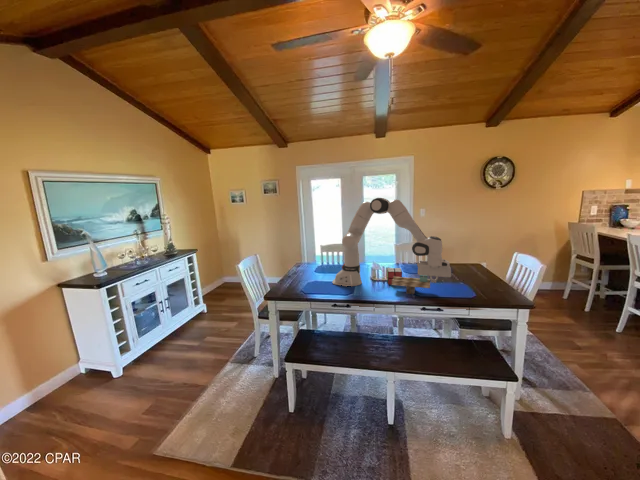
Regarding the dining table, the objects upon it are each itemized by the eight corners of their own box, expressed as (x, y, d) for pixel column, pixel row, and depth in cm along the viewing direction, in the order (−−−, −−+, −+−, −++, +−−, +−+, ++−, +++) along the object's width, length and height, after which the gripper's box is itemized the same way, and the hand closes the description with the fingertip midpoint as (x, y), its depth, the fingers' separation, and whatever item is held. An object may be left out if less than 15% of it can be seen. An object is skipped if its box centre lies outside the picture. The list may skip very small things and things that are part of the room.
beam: (391, 292, 185) (391, 280, 183) (393, 287, 193) (393, 276, 191) (429, 296, 175) (429, 283, 174) (430, 291, 184) (430, 278, 182)
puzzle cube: (402, 285, 198) (402, 271, 196) (387, 284, 200) (387, 271, 198) (400, 280, 208) (400, 268, 206) (387, 280, 210) (387, 267, 208)
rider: (419, 284, 179) (419, 276, 178) (420, 281, 183) (420, 274, 182) (427, 284, 177) (427, 277, 176) (427, 282, 181) (427, 275, 180)
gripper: (416, 262, 176) (416, 282, 178) (451, 264, 168) (451, 285, 170) (417, 259, 182) (417, 279, 184) (451, 261, 174) (450, 282, 176)
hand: (433, 282), depth 177 cm, fingers closed
